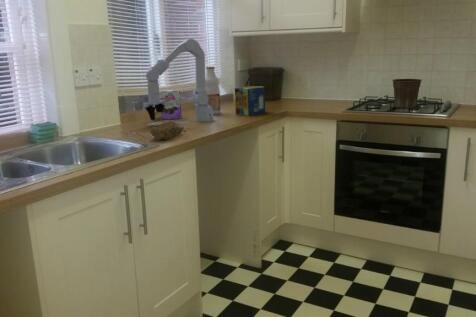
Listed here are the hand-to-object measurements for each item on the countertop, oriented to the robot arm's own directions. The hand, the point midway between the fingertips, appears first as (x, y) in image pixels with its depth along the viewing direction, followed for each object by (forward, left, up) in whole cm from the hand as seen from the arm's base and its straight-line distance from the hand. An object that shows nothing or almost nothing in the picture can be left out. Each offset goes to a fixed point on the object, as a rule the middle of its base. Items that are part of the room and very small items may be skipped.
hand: (156, 119), depth 237 cm
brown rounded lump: (-27, +22, -4) cm, 35 cm away
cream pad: (0, 0, -3) cm, 3 cm away
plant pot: (-103, -102, -4) cm, 145 cm away
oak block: (0, 0, -1) cm, 1 cm away
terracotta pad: (0, -8, -3) cm, 8 cm away
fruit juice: (-4, -45, -4) cm, 45 cm away
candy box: (+8, -19, -4) cm, 21 cm away
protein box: (-26, -53, -4) cm, 59 cm away
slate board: (-5, -4, -3) cm, 7 cm away
